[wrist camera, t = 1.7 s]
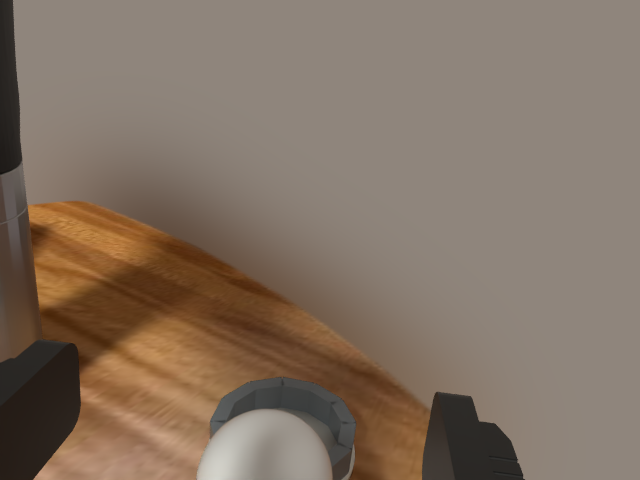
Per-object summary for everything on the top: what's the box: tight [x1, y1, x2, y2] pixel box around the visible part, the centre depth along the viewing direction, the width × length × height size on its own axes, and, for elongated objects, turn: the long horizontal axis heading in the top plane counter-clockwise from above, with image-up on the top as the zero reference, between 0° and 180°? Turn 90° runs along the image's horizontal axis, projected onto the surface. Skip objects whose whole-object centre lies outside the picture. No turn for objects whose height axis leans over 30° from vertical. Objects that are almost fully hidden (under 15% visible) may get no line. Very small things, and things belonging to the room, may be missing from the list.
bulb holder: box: [209, 377, 356, 480], centre depth 38 cm, size 10×10×3 cm
